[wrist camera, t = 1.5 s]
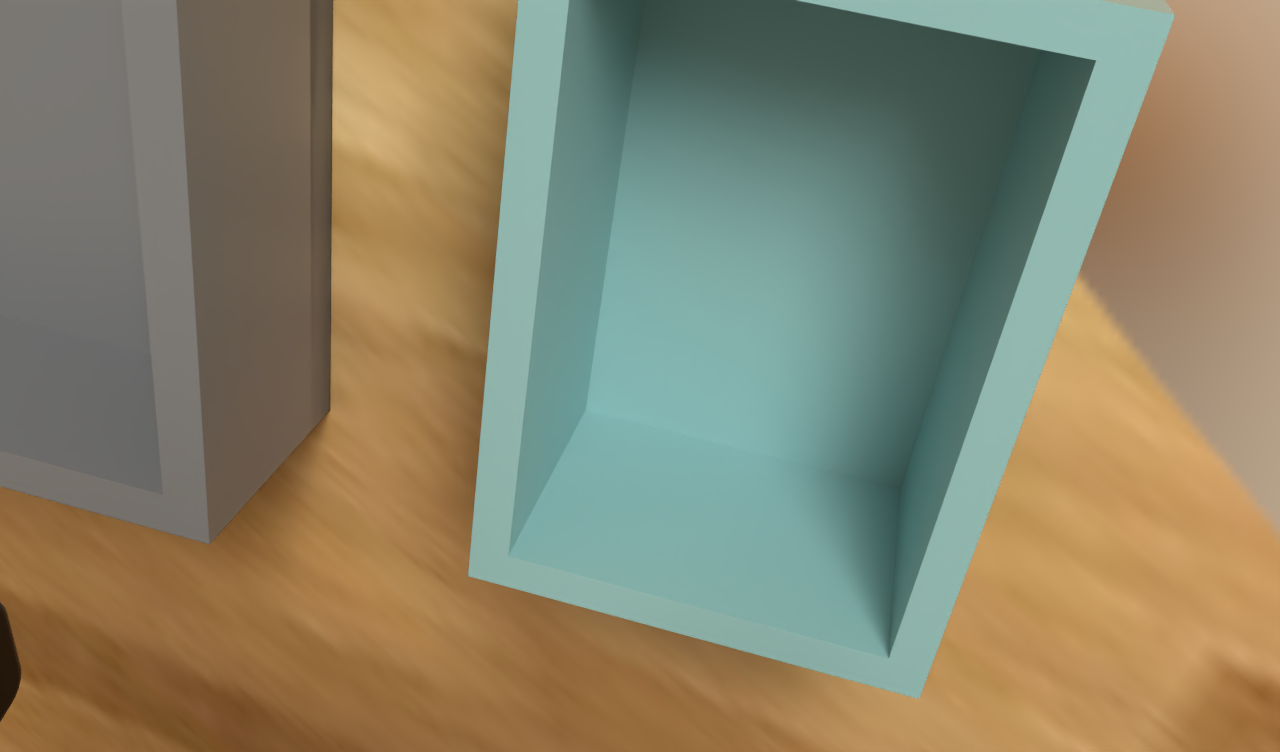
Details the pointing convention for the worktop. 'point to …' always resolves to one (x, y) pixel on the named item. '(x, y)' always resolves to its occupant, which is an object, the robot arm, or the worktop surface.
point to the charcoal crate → (162, 251)
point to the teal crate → (785, 303)
